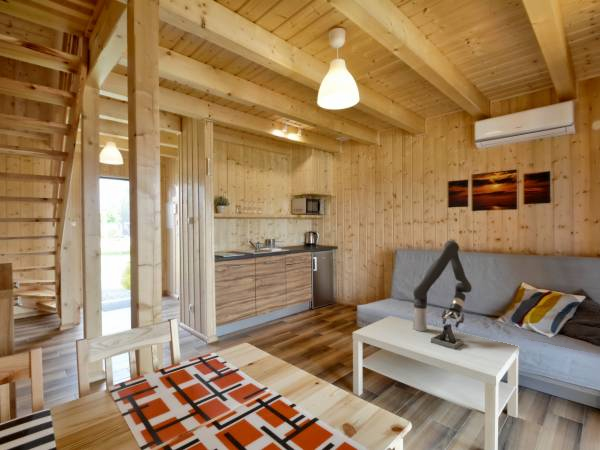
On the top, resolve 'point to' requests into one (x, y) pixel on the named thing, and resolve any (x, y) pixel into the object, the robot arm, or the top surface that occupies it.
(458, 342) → the tray
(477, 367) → the top surface
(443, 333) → the phone stand
